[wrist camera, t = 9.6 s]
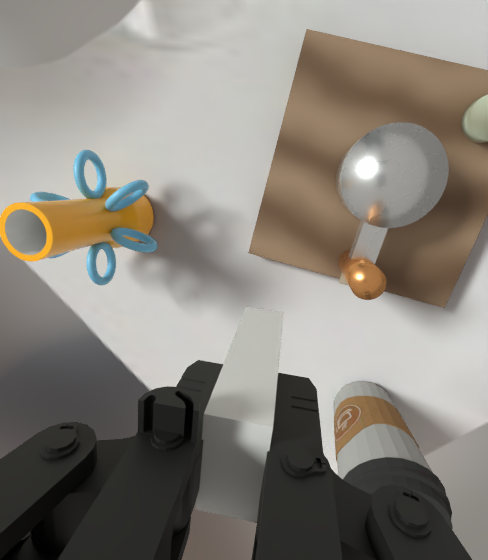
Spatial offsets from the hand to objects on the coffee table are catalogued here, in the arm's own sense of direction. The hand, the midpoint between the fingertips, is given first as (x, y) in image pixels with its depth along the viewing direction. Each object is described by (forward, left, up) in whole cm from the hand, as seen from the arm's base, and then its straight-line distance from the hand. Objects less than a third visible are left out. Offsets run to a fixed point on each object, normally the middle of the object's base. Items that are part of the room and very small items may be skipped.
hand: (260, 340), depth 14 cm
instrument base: (-9, +7, -23) cm, 26 cm away
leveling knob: (-6, +7, -21) cm, 23 cm away
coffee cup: (+15, +14, -23) cm, 31 cm away
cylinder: (+1, -17, -23) cm, 29 cm away
